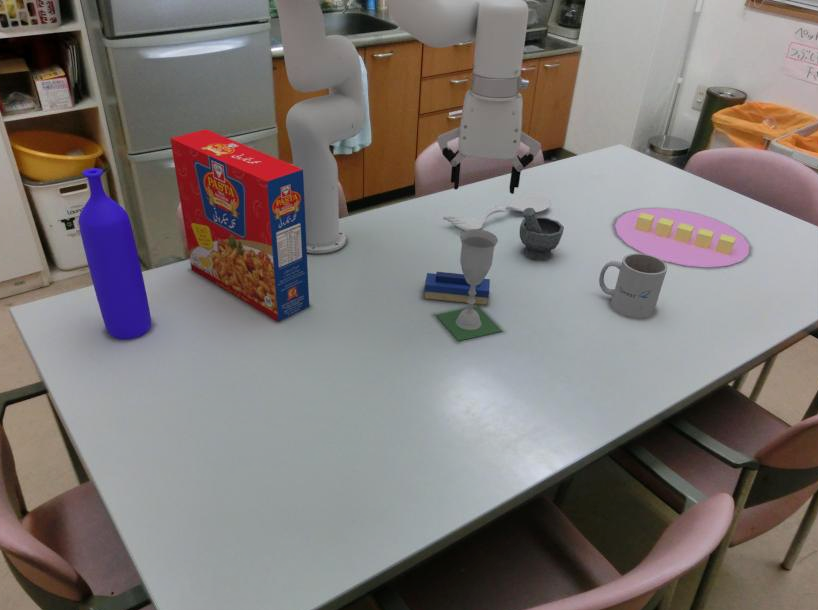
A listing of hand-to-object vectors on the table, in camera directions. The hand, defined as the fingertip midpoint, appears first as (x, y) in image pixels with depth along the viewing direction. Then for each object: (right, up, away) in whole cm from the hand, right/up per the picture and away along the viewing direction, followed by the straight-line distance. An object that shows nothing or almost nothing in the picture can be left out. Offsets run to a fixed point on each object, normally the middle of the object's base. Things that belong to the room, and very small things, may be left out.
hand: (483, 188), depth 119 cm
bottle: (-65, -24, +8) cm, 70 cm away
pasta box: (-46, -15, +21) cm, 53 cm away
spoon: (+10, +7, +53) cm, 55 cm away
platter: (+54, +2, +50) cm, 74 cm away
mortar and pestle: (+16, -5, +39) cm, 42 cm away
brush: (-3, -16, +22) cm, 28 cm away
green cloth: (-1, -22, +14) cm, 27 cm away
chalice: (-1, -22, +14) cm, 27 cm away
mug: (+32, -18, +23) cm, 43 cm away
